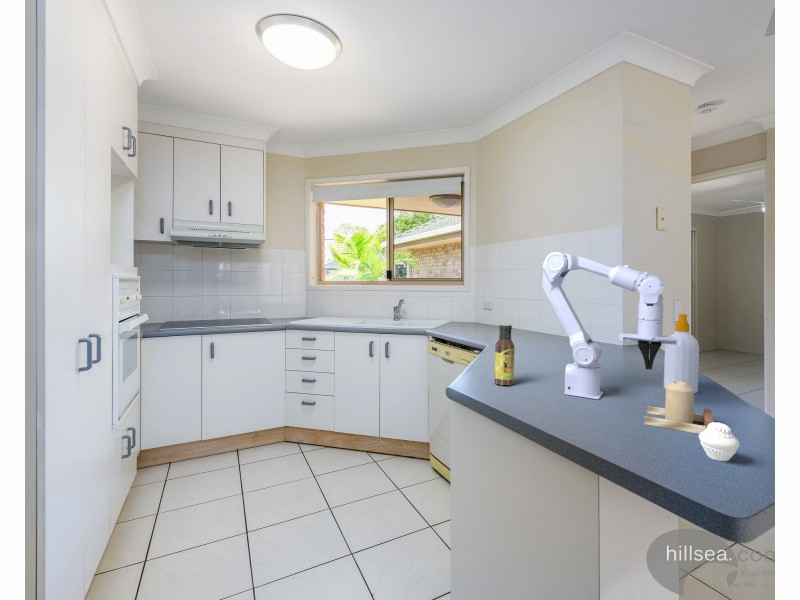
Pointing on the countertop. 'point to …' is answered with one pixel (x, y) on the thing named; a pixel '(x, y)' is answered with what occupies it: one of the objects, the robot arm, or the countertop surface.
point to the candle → (679, 402)
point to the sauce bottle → (504, 357)
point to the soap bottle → (682, 357)
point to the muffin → (718, 441)
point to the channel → (676, 425)
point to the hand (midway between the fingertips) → (648, 368)
